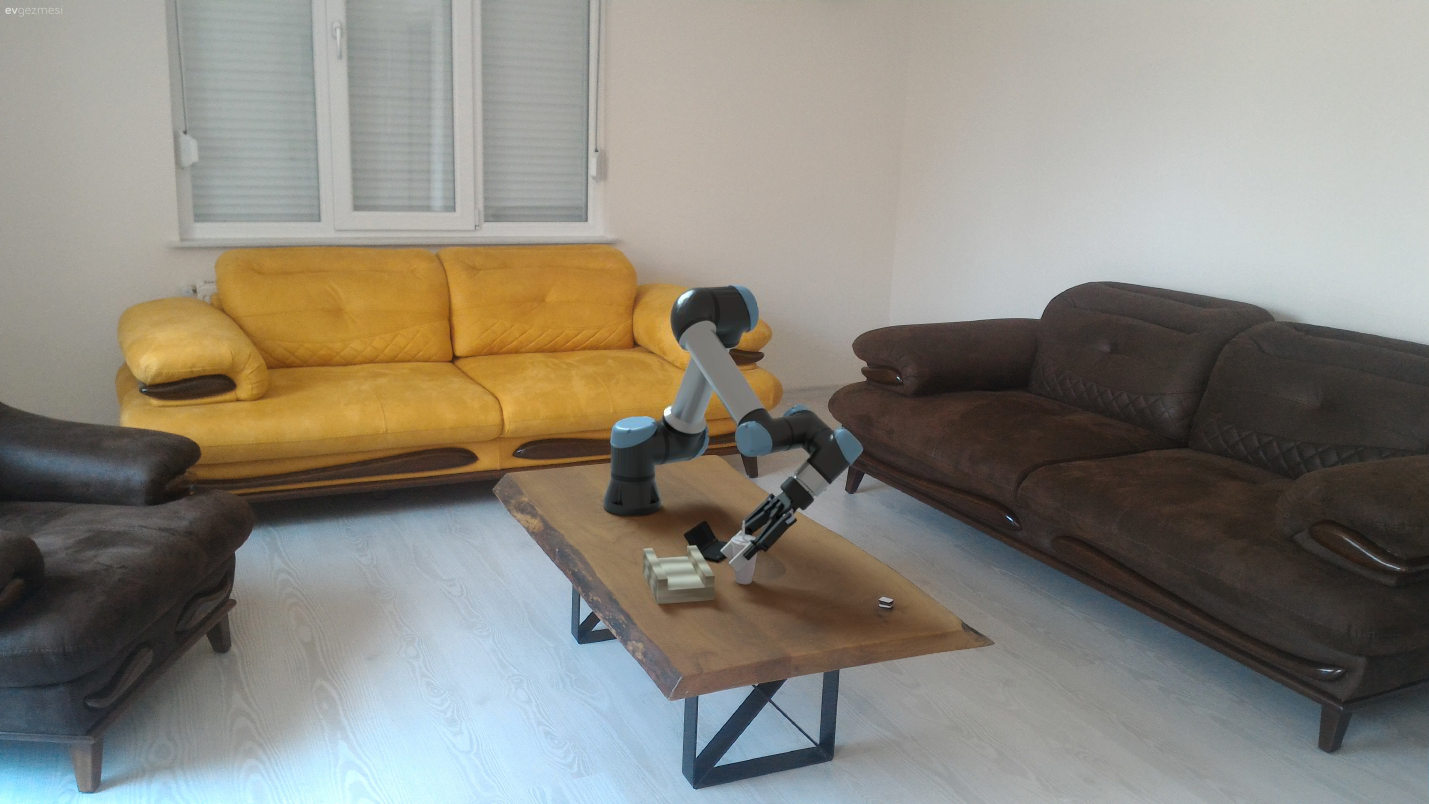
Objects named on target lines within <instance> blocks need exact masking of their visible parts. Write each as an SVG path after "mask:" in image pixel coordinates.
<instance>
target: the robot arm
mask: <svg viewBox="0 0 1429 804" xmlns="http://www.w3.org/2000/svg"><path fill="white" fill-rule="evenodd" d="M757 302H758V301H757V299H756V297H755V295H754V294H753V292H752V291H751V290H750V289H749V288H747V287H746V286H744V285H734V284H728V285H727V286H707V287H706V286H704V287H702V286H701V287H698V286H696V287H691V288H689V289H687V290H685V291H683V292H682V293H680V294H679V296H678V297H677V298H676V300H675V301H674V302H673V305H672V308H671V309H670V319H669V320H670V328H671V331H672V334H673V337H674V338H675V341H676V342H677V344H678V345H679V347H680V348H681V350H683V351H685V352H688V353H689V355H690V357H689V361H688V364H687V366H686V367H685V368H686V369H685V371H684V374H683V377H682V379H681V382H680V384H679V388H678V390H677V393H676V395H675V398H674V401H673V403H672V404H670V405H668V406H666V407H665V409H664V411H663V415H662V417H661V419H659V420H656V419H655V418H653V417H650V416H645V415H643V416H637V415H636V416H630V417H629V416H628V417H626V418H623V419H620V420H618V421H617V422H615V423H614V425H613V426H612V428H611V432H610V433H611V435H610V441H609V443H610V479H609V482H608V485H607V486H606V487H607V488H606V491H605V493H604V496H603V509H605V511H607V512H608V513H611V514H614V515H618V516H625V517H639V516H647V515H651V514H655V513H657V512H659V511H660V510H661V508H662V498H661V493H660V491H659V490H660V489H659V488H658V485H657V481H656V466H661V465H669V464H674V463H681V462H686V461H690V460H693V459H696V458H699V457H701V456H702V455H703V454H704V453H705V451H706V450H707V449H708V446H709V442H710V436H709V434H710V430H709V427H708V424H707V420H706V418H705V414H706V410H707V409H708V406H709V403H710V401H711V399H712V396H713V393H715V394H716V395H715V396H717V398H718V399H719V401H720V403H722V405H723V407H724V408H725V410H726V412H727V413H728V414H729V416H730V418H731V420H732V421H733V422H734V424H735V425H736V427H737V428H736V430H735V434H734V435H735V436H734V441H735V442H736V444H737V445H736V447H737V450H738V451H739V453H740V454H742V455H743V456H745V457H749V458H751V457H752V458H753V457H764V456H767V455H770V454H775V453H781V452H788V451H794V450H798V449H803V450H804V451H805V452H806V453H807V454H808V455H809V456H808V457H807V458H806V459H805V460H804V461H803V462H802V463H801V464H800V465H799V466H798V467H797V468H796V470H795V471H793V476H792V475H791V476H789V477H788V478H787V479H786V480H785V481H784V482H783V483H781V485H780V487H779V488H780V490H781V491H782V492H781V493H780V494H778V495H775V494H774V493H770V494H769V495H768V496H767V497H766V498H765V500H764V501H763V502H762V503H761V504H759V505H758V506H757V507H756V508H755V509H754V510H753V511H751V513H749V514H748V515H747V516H746V517H745V518H744V519H743V520H744V521H745V535H752V536H753V534H754V533H756V532H757V531H759V530H760V529H761V528H762V529H761V530H760V532H759V533H758V534H757V535H756V536H755V537H756V538H755V540H750V542H749V543H748V544H747V545H746V546H745V547H744V548H743V549H742V550H741V551H740V552H739V553H738V554H737V555H736V556H735V557H734V558H732V557H733V546H732V544H731V539H730V540H729V541H728V543H727V544H726V545H725V546H724V547H723V548H722V549H721V550H720V551H721V552H722V553H723V554H724V555H725V556H726V557H725V558H726V559H728V560H730V559H731V560H730V561H729V562H728V564H729V565H730V566H731V567H732V568H733V569H735V570H736V571H737V572H738V571H739V570H740V569H741V568H742V567H743V566H744V565H745V564H746V563H747V562H748V561H749V560H750V559H751V558H752V557H753V556H754V555H755V554H756V553H757V554H758V552H762V551H763V552H764V553H766V552H768V551H769V549H770V548H771V547H772V546H773V545H774V544H775V543H776V542H777V541H778V540H779V539H780V538H781V537H782V535H784V534H785V532H786V531H787V530H788V529H789V528H790V527H792V526H793V525H794V524H796V523H797V521H798V519H797V518H796V516H795V514H796V512H797V511H798V510H799V509H800V510H801V511H806V509H808V508H809V506H810V505H812V504H813V503H814V502H815V498H814V497H816V498H819V496H821V494H822V493H823V492H826V491H827V489H828V487H829V486H830V485H832V484H833V482H834V481H835V480H836V479H837V478H838V477H839V476H840V475H841V474H842V473H843V472H844V471H846V470H847V469H848V468H849V467H850V466H852V465H853V463H854V462H855V461H856V460H857V458H859V457H860V455H861V454H862V453H863V451H864V447H863V445H862V443H861V442H860V441H859V440H858V439H857V438H856V437H855V436H854V435H853V434H852V433H851V432H850V431H849V430H848V429H846V428H845V427H844V426H840V427H838V428H836V430H835V429H832V428H831V427H829V425H828V424H827V423H825V421H823V420H822V419H821V418H820V417H819V415H817V414H816V413H815V412H814V411H812V410H811V409H809V408H808V407H807V406H806V405H803V404H795V405H793V406H792V407H791V408H787V410H785V412H784V413H783V415H782V416H779V417H772V415H771V414H770V412H769V411H768V410H767V409H766V407H765V406H764V405H763V402H762V401H761V400H760V398H759V397H758V395H757V394H756V392H755V391H754V390H753V388H752V386H751V385H750V383H749V382H748V380H747V379H746V377H745V376H744V375H743V373H742V370H740V368H739V367H738V365H737V364H736V362H735V361H734V359H733V358H732V356H731V354H730V350H732V349H734V348H736V347H738V346H739V344H740V341H741V338H742V336H743V334H745V333H746V334H747V333H750V332H752V331H754V330H755V329H756V328H757V326H758V322H759V314H760V313H759V306H758V303H757ZM743 520H742V521H741V522H740V525H741V528H740V530H739V531H738V533H736V534H735V535H734V536H736V535H742V526H743ZM770 550H771V549H770ZM735 570H734V571H735Z"/></svg>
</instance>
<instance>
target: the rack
mask: <svg viewBox="0 0 1429 804" xmlns="http://www.w3.org/2000/svg"><path fill="white" fill-rule="evenodd" d="M642 550H643V551H642V552H643V553H642V573H643V575H644V577H645V579H646V582H647V584H648V586H649V589H650V590H651V592H652V595H653V596H654V600H655V601H656V604H657V605H663V604H678V603H688V602H689V603H691V602H704V601H706V602H707V601H714V600H715V576H716V575H715V573H714V572H713V571H712V569H711V567H710V565H709V564H708V562H707V560H705V559H704V558H703V556H702V554H701V553H700V551H699V550H698V548H697V546H690V545H687V547H686V556H674V557H660V558H658V556H657V555H656V553H655V550H654V549H653V547H647V548H646V547H645V548H643V549H642Z"/></svg>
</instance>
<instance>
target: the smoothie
mask: <svg viewBox="0 0 1429 804" xmlns="http://www.w3.org/2000/svg"><path fill="white" fill-rule="evenodd" d="M742 521H743V526H742V525H741V527H742V535H737V534H735V535H736V536H735V535H734V536H733V537H731V539H730V540H731V544H732V546H733V556H732V557H733V558H734V557H735V556H736V555H737V554H738V553H739V552H740V551H741V550H742V549H743V548H744V547H745V546H746V545H747V544H748V543H749V542H750V540H755V538H756V537H757V536H755V535H753V534H752V535H745V521H744V519H743V520H742ZM757 555H758V552H757V553H756V554H755V555H754V556H753V557H752V558H751V559H750V560H749V561H748V562H747V563H746V564H745V565H744V566H743V567H742V568H741V569H740V570H739V571H738V572H737V571H736V570H735V569H734V568H733V569H734V581H735V582H736V583H737V584H739V585H749V584H751V583H753V578H754V573H755V566H756V562H757V561H756V560H757ZM733 558H732V559H733Z"/></svg>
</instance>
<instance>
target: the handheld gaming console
mask: <svg viewBox="0 0 1429 804" xmlns="http://www.w3.org/2000/svg"><path fill="white" fill-rule="evenodd" d="M683 536H684V539H685V540H686V542H687V544H688V546H697V548H698V550H699V551H700V553H701V554H702V556H703V558H704V559H705V561H709V562H712V563H719V562H721V561H722V560H723V559H724V558H727V557H726V556H725V555H724V554H723V553H722V552H721V551H720V550H721V549H722V548H723V547H724V546H725V545H726V544H727V543H728V542H729V541H728V542H727V541H723V540H719V538H717V536H716V535H715V533H714V531H713V529H712V528H711V526H710V524H709V523H708V521H707V520H706V519H704V520H703V521H701V522H700V523H698V524H696V526H694V527H692V528H690V529H689V530H688V531H686V532H685V533H684V534H683Z"/></svg>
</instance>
